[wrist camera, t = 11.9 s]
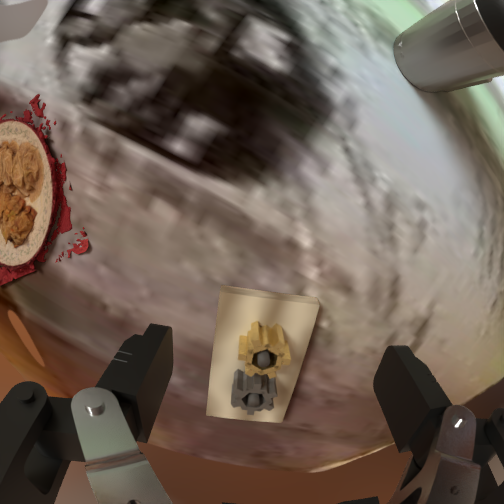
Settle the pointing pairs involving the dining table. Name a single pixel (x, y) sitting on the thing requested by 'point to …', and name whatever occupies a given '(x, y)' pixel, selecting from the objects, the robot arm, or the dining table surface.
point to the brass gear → (261, 341)
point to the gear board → (233, 370)
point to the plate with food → (29, 196)
